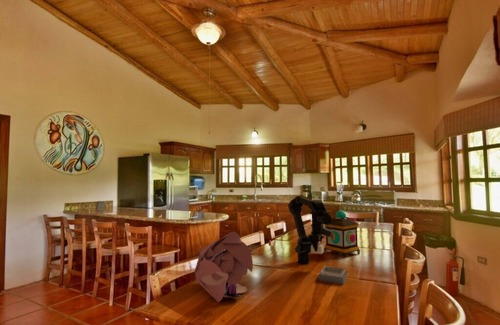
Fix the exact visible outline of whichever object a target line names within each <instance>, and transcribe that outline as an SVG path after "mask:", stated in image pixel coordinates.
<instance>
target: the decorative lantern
mask: <svg viewBox="0 0 500 325" xmlns="http://www.w3.org/2000/svg"><path fill="white" fill-rule="evenodd" d="M323 226H324V227H325V228H328V227H331V229H332V231H333V232H332V234H331V236H330V237H328V236H326V235H325V244H324V252H323V253H325V254H326V253H327V252H328V251H332V252H335V253H339V254H342V257H343V258H344V259H345V258H346V254H350V253H353V252H356V254H357V255H361V254H360V253H361V249H360V247H359V245H358V227H359V223H358V222H356V221H355V220H352V219H351V218H349V217H347V213H346V212H344V211H343V210H338V211H337V212H336V213H335V216H334V217H333V218H332V222H331V223H330V224H329V225H325V224H323Z"/></svg>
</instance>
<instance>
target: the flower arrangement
mask: <svg viewBox="0 0 500 325" xmlns="http://www.w3.org/2000/svg"><path fill="white" fill-rule="evenodd" d="M253 264H254V262H253V256H252V252H251V250H250V248H249V246H248V245H247V244H246V243H245V242H244V241H243V240H241V237H240V235H239V233H238V232H236V231H230V232H229V233H228V234H226V235H224V236H223V237H221V238H220V239H218V240H214V241H213V242H212V243H210V244H209V245H208V246H206V247H205V248H204V249H202V250H201V251H199V255H198V258H197V262H196V264H195V269H194V272H193V274H195V280H196V282H197V283H198V284H199V285H200V286H201V287H202V288H203V289H204V290H205V291H206V292H207V293H208V294H209V295H210V296H211V297H212V298H213V299H214V300H215V301H216V302H217V303H220V302H221V301H222V299H224V298H233V299H235V298H240V297H241V295H240V294H243V293H246V292H247V291H248V288H247V287H246V286H243V285H242V284H239V283H241V281H242V280H243V278H244V276H247V274H248V271H250V272H251V273H253V267H254V266H253ZM223 297H224V298H223Z"/></svg>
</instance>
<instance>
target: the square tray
mask: <svg viewBox="0 0 500 325" xmlns="http://www.w3.org/2000/svg"><path fill="white" fill-rule="evenodd" d="M347 273H348V271H346V268H343V267H337V266H336V267H335V266H327V265H324V266H323V267H322V268H321V270H320V272H319V274H318V281H319V282H322V283H323V282H324V283H330V284H335V285H336V284H337V285H343V286H344V284H345V283H346V280H347V278H348V274H347Z"/></svg>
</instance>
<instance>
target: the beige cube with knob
mask: <svg viewBox="0 0 500 325" xmlns="http://www.w3.org/2000/svg"><path fill="white" fill-rule="evenodd" d="M324 247H325V244H322V241H321V242H320V241H319V242H318V249H317V251H315V250H314V248H313V245H311V254H317V255H319V254H320V255H322V254H323V253H325V252H324Z"/></svg>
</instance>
